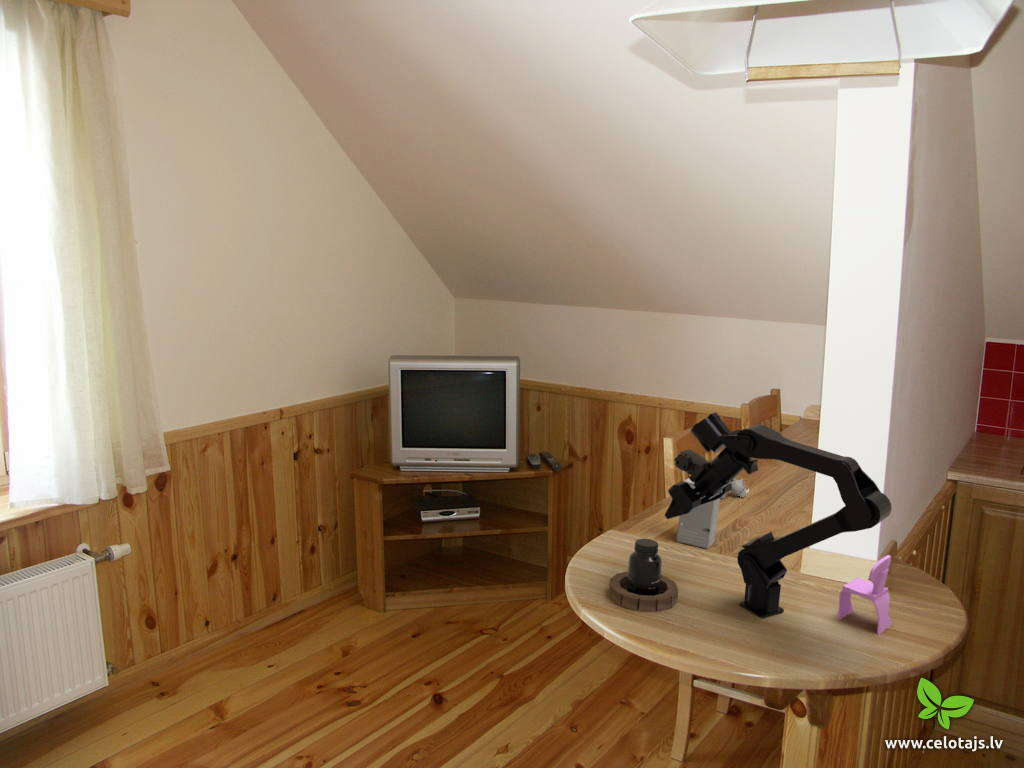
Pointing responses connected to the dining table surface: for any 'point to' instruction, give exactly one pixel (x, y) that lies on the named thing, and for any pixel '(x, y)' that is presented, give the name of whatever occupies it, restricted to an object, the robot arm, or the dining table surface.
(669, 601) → the segmented ring
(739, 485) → the chubby cartoon animal
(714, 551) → the dining table surface
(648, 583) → the supplement bottle
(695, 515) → the skincare box
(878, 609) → the toy chair
